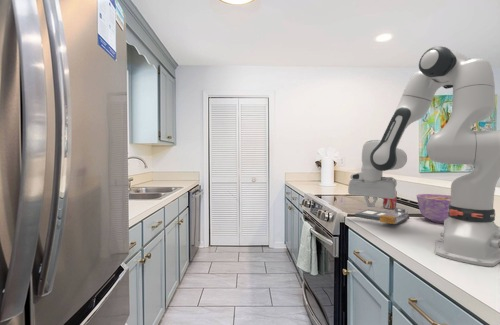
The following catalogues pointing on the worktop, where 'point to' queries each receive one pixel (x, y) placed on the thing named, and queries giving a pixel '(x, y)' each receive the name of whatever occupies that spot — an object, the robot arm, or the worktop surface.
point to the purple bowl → (434, 206)
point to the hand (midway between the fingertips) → (370, 206)
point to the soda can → (390, 202)
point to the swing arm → (394, 216)
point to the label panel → (374, 215)
